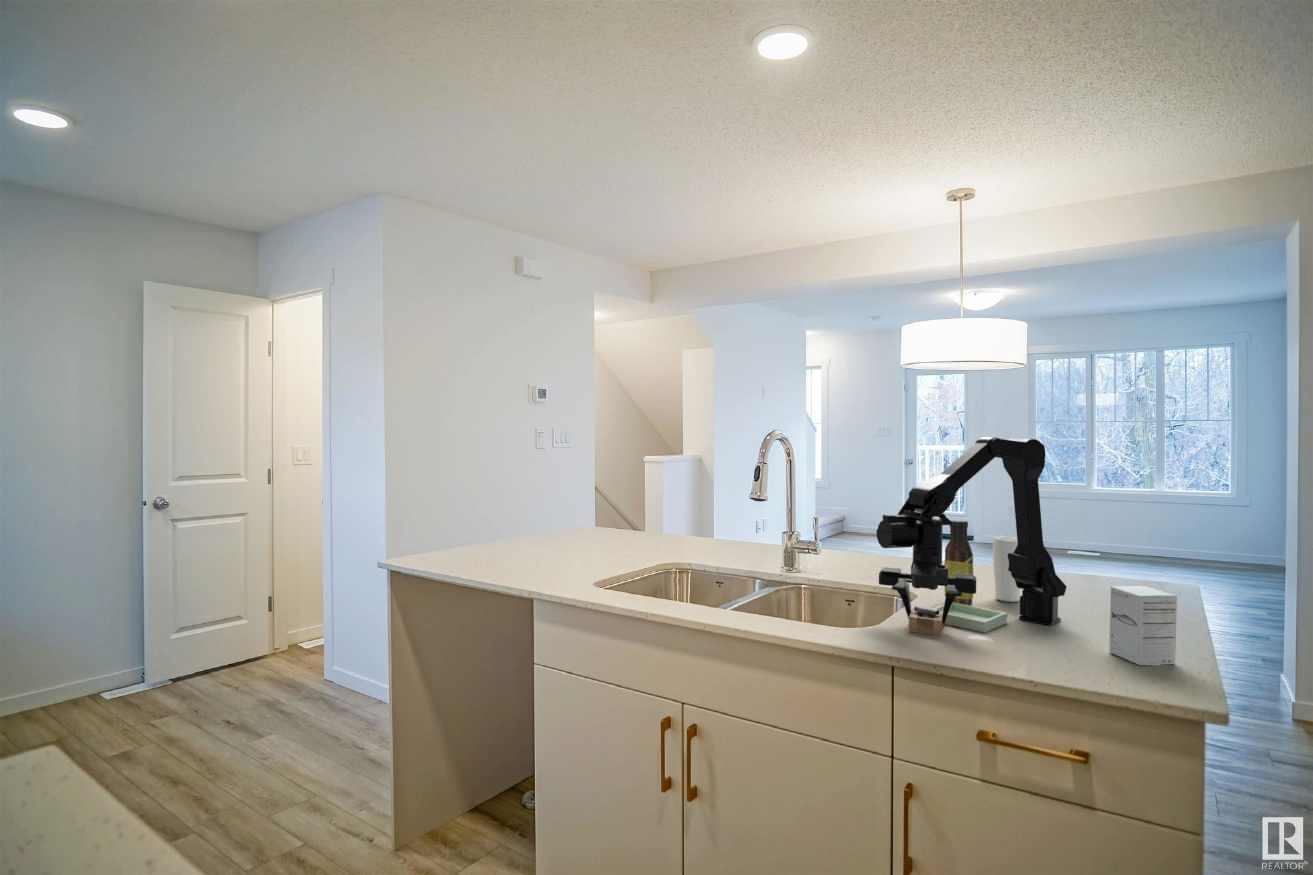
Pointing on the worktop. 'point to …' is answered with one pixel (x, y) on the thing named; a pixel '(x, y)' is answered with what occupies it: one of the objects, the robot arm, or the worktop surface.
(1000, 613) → the tray
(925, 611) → the grey t-shaped knob
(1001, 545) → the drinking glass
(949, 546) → the sauce bottle
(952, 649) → the worktop surface
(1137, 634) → the supplement box
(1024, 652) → the worktop surface
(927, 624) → the collar
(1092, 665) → the worktop surface
